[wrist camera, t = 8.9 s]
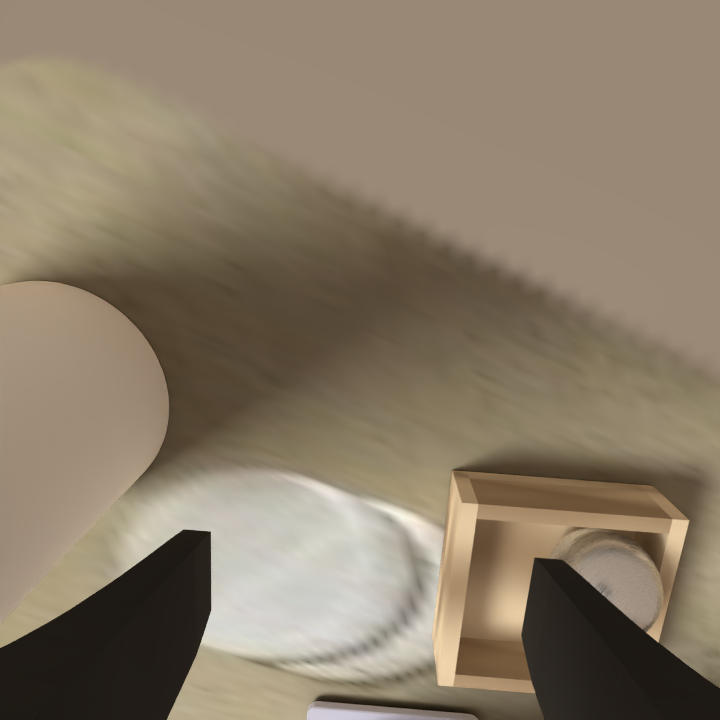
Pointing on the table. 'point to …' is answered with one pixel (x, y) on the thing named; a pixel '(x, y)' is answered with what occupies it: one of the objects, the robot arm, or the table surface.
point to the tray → (527, 562)
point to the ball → (615, 571)
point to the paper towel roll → (68, 423)
